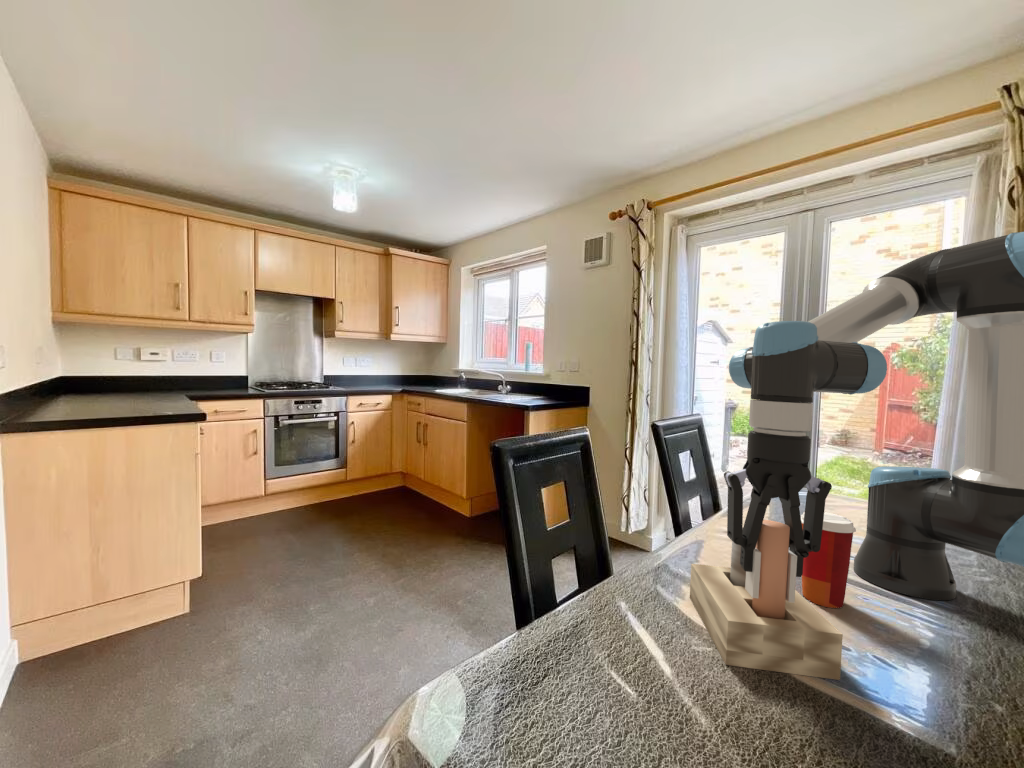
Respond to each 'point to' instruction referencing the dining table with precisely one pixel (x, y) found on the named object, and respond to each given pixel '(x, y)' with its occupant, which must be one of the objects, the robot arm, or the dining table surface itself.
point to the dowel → (772, 570)
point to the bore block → (763, 626)
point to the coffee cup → (829, 563)
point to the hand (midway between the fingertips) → (769, 595)
